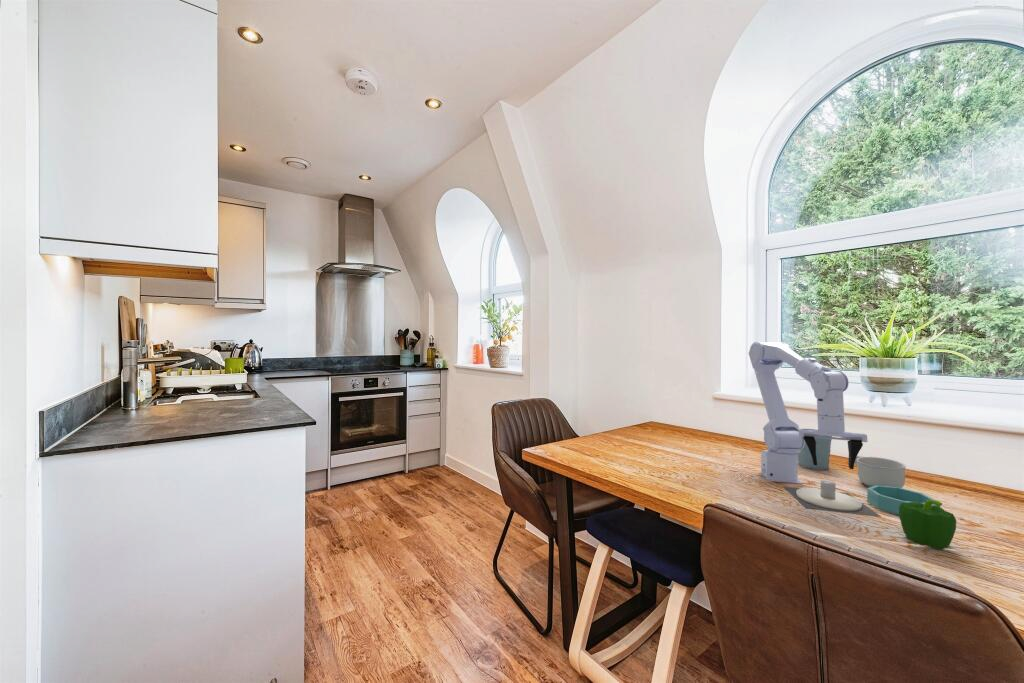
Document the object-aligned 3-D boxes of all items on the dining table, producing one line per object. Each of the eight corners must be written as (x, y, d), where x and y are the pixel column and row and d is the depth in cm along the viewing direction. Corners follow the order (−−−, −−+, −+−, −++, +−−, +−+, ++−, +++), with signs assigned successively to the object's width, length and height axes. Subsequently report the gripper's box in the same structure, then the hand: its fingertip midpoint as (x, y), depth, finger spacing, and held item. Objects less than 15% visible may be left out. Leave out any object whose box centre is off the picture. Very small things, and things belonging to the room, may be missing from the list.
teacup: (915, 496, 114) (915, 468, 114) (870, 493, 116) (871, 465, 116) (881, 479, 128) (881, 454, 128) (842, 477, 130) (842, 452, 130)
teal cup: (829, 464, 143) (830, 430, 143) (833, 472, 134) (834, 436, 134) (794, 460, 148) (795, 427, 148) (796, 467, 140) (796, 432, 140)
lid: (808, 507, 105) (808, 488, 105) (788, 488, 118) (788, 471, 118) (874, 514, 101) (874, 494, 101) (845, 493, 114) (845, 476, 114)
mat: (805, 510, 104) (805, 508, 104) (783, 488, 119) (783, 486, 119) (881, 518, 100) (881, 516, 100) (847, 494, 115) (847, 492, 115)
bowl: (886, 516, 101) (886, 500, 101) (860, 498, 112) (860, 483, 112) (947, 522, 98) (947, 506, 98) (913, 503, 109) (913, 488, 109)
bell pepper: (890, 531, 93) (891, 488, 93) (935, 537, 90) (936, 492, 90) (914, 549, 85) (915, 502, 85) (965, 556, 82) (966, 507, 82)
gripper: (799, 415, 111) (801, 465, 110) (868, 419, 103) (871, 473, 102) (797, 412, 117) (799, 460, 116) (862, 416, 109) (865, 467, 108)
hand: (832, 466), depth 109 cm, fingers open, 7 cm apart
